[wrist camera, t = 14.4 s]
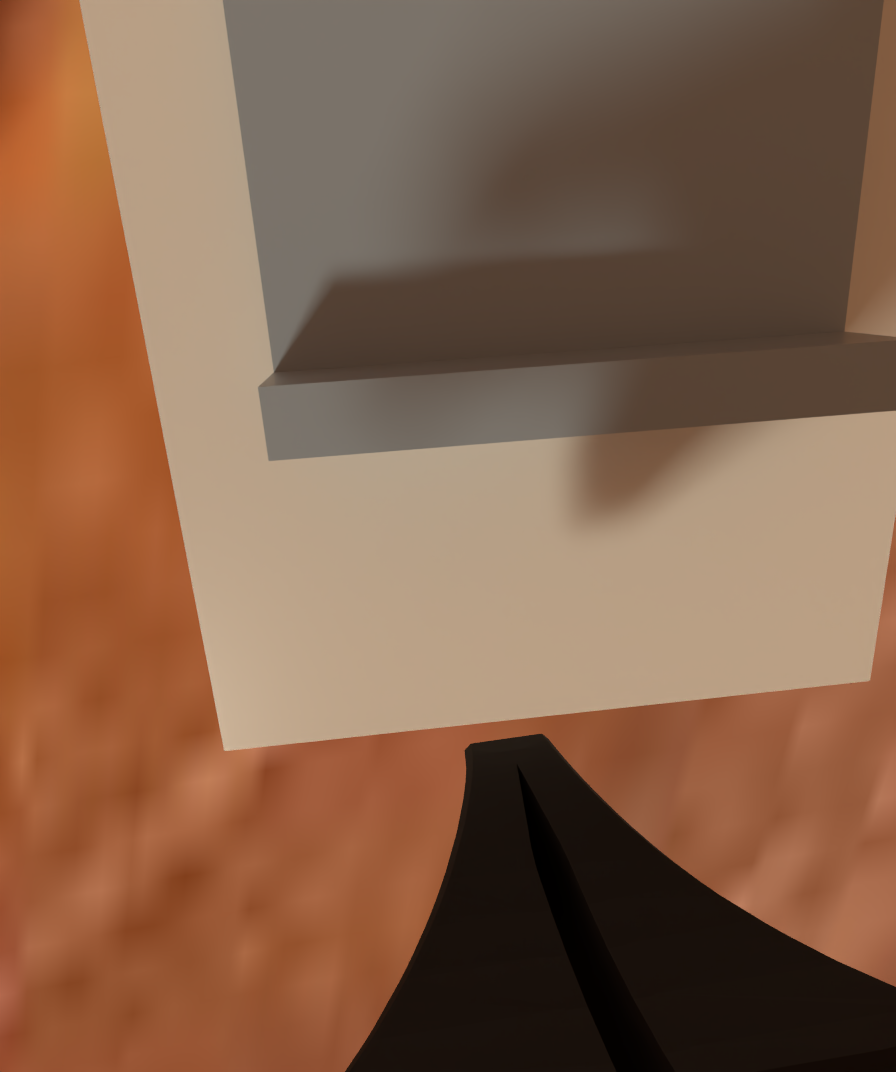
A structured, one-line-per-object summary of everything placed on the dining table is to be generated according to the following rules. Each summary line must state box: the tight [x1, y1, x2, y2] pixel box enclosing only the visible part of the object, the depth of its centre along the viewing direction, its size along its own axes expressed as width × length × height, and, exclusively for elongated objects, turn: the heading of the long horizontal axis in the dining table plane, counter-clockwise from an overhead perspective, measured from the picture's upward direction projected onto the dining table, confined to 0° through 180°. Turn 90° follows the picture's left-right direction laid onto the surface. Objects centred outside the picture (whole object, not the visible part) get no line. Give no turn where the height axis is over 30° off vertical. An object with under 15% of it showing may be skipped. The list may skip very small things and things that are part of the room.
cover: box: [223, 0, 896, 461], centre depth 12 cm, size 11×11×3 cm
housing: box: [79, 0, 896, 751], centre depth 17 cm, size 16×18×6 cm
